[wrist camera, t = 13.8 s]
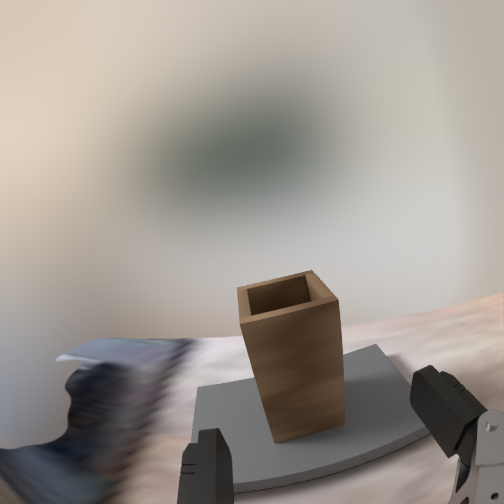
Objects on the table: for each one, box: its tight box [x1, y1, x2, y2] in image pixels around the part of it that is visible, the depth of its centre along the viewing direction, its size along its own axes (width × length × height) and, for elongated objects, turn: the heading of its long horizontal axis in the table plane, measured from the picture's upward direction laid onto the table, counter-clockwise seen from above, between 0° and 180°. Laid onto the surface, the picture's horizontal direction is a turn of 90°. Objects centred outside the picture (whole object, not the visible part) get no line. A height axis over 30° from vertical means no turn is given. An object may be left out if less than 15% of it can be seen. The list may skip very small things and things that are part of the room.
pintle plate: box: [191, 344, 430, 493], centre depth 18 cm, size 17×11×8 cm, turn 94°
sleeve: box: [237, 270, 345, 443], centre depth 17 cm, size 5×5×10 cm
